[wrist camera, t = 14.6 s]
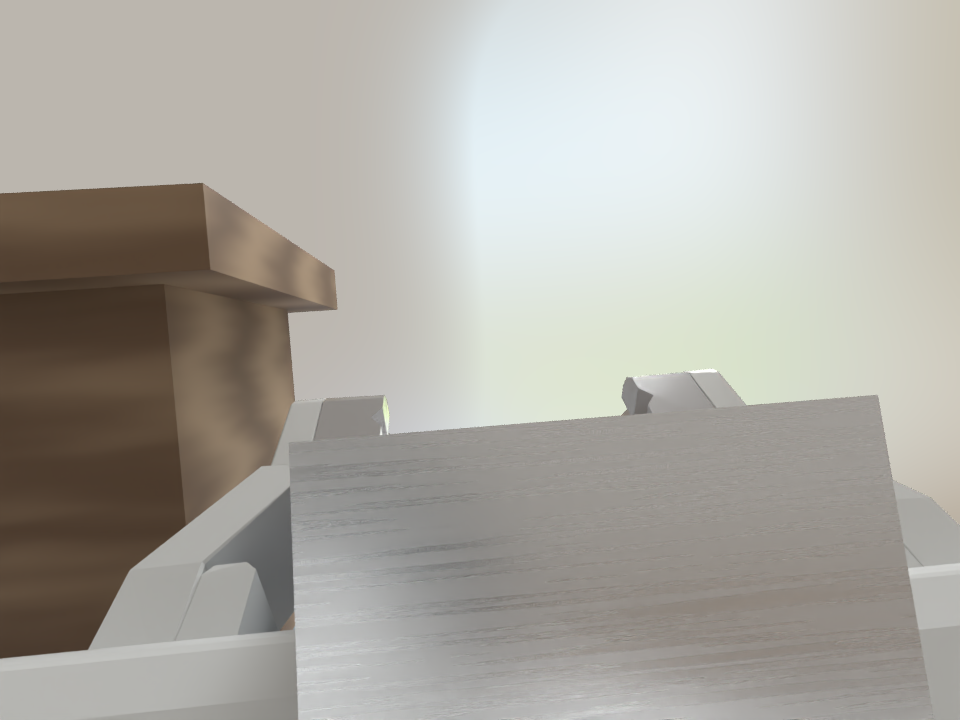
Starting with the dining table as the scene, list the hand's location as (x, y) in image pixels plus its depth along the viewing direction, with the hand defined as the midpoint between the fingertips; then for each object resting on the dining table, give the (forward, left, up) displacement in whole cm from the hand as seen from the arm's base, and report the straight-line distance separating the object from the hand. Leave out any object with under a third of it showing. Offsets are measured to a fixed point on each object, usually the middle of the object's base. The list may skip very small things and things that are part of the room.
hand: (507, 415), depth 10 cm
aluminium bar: (+4, +4, -4) cm, 7 cm away
